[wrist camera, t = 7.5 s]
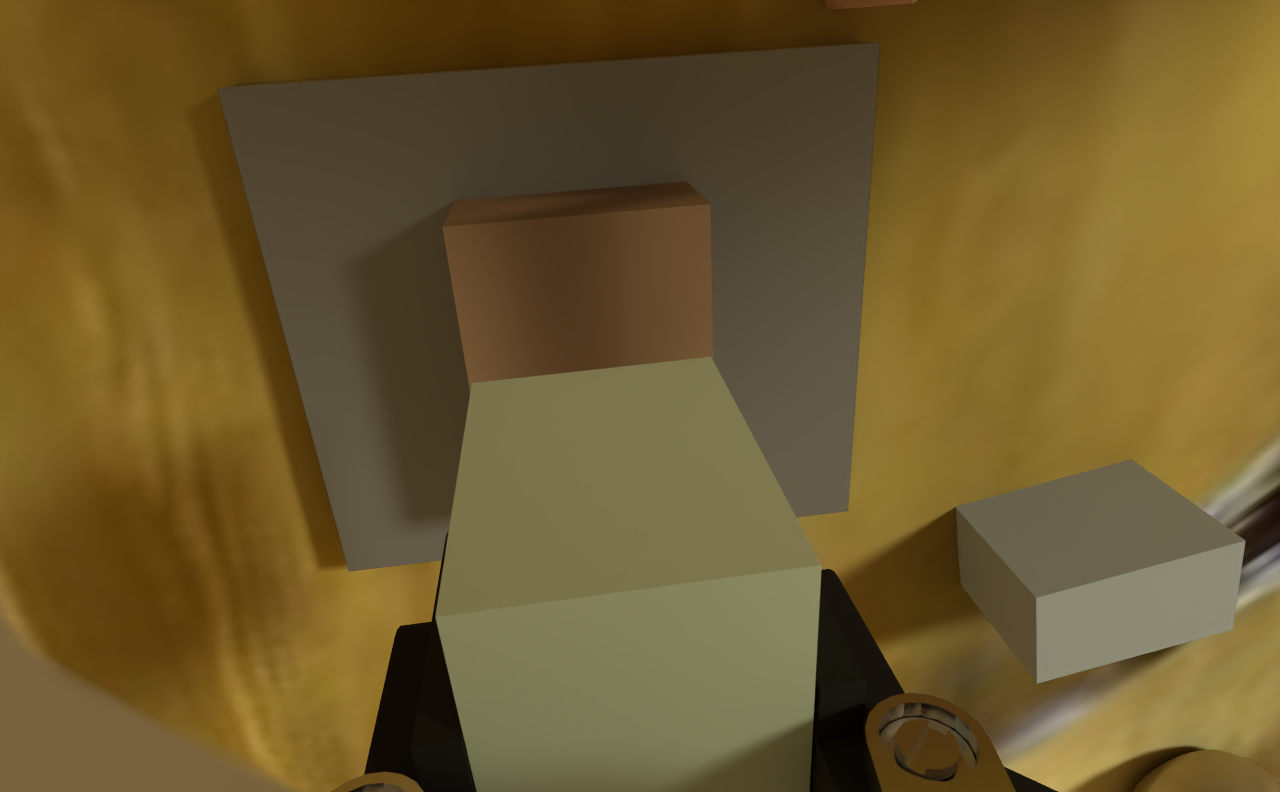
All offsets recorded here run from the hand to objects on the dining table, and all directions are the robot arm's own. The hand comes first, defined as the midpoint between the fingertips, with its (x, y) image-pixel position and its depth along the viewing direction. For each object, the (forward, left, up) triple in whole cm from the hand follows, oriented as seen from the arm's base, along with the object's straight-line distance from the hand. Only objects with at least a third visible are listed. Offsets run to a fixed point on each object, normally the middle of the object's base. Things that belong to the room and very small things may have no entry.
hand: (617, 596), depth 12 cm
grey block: (-16, +9, -12) cm, 22 cm away
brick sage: (0, 0, -1) cm, 1 cm away
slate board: (0, 0, -12) cm, 12 cm away
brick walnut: (0, 0, -11) cm, 11 cm away
